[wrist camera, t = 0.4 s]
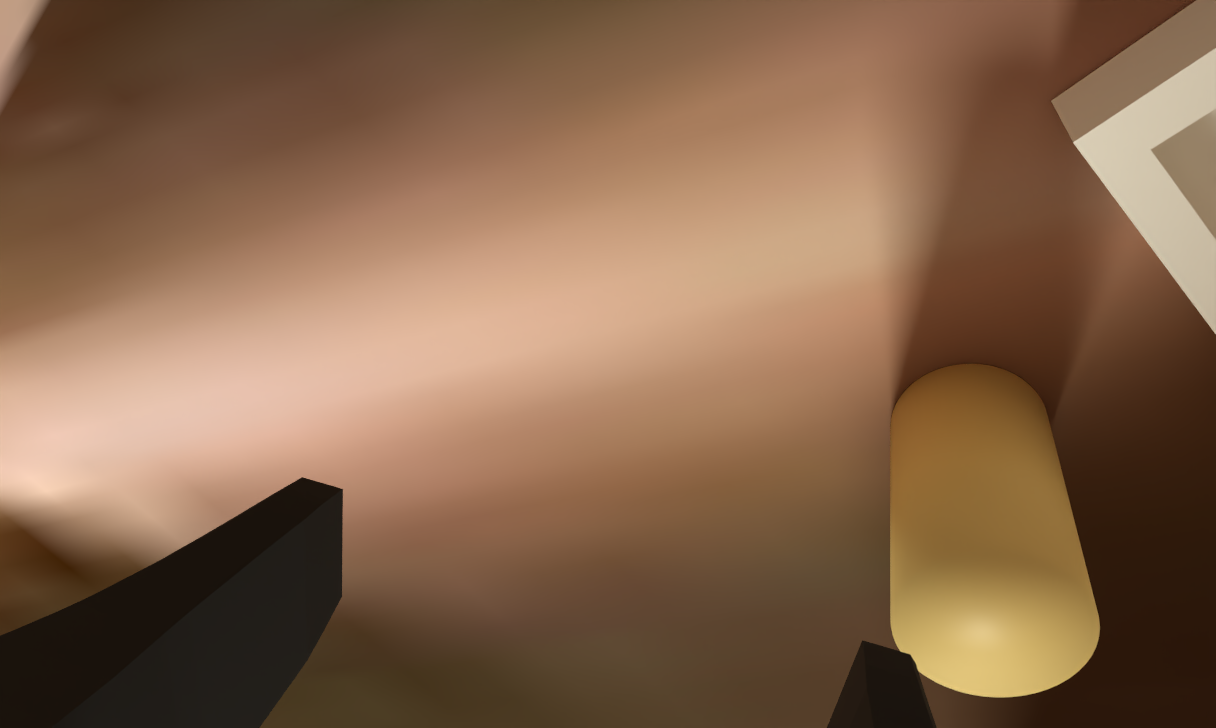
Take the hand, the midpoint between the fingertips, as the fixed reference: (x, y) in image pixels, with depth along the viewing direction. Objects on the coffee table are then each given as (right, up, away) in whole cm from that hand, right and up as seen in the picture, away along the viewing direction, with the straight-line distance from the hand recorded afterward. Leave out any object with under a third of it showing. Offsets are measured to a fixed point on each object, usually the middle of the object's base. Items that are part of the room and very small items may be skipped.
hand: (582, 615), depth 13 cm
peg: (+8, +2, +8) cm, 12 cm away
